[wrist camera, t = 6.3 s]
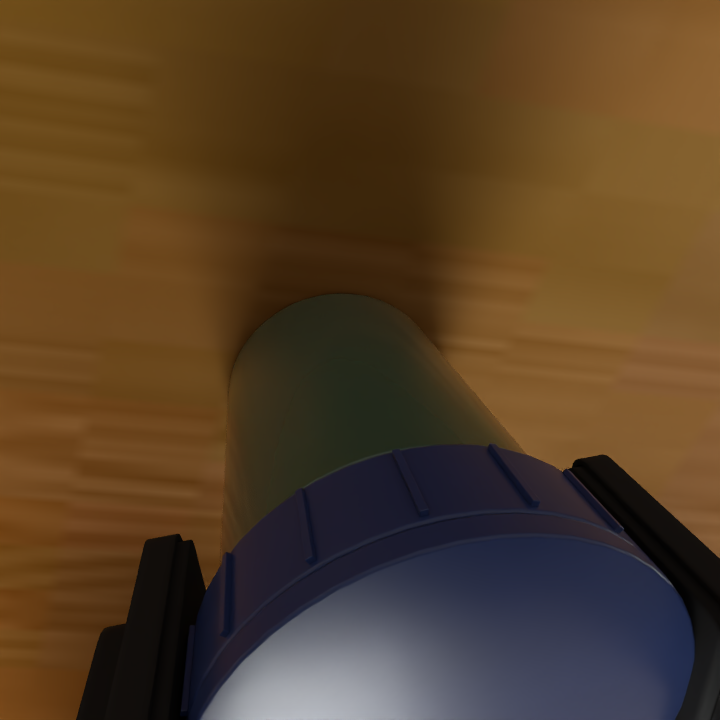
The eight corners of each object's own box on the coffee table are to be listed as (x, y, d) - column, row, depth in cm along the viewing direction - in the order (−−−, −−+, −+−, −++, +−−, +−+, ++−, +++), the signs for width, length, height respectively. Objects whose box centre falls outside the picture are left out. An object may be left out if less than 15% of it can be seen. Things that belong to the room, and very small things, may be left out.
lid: (305, 374, 7) (328, 460, 5) (691, 509, 9) (794, 598, 7) (128, 747, 9) (102, 898, 7) (483, 778, 11) (526, 896, 9)
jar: (465, 317, 16) (715, 539, 8) (401, 491, 18) (542, 816, 10) (253, 269, 14) (269, 489, 6) (210, 469, 17) (176, 843, 8)
